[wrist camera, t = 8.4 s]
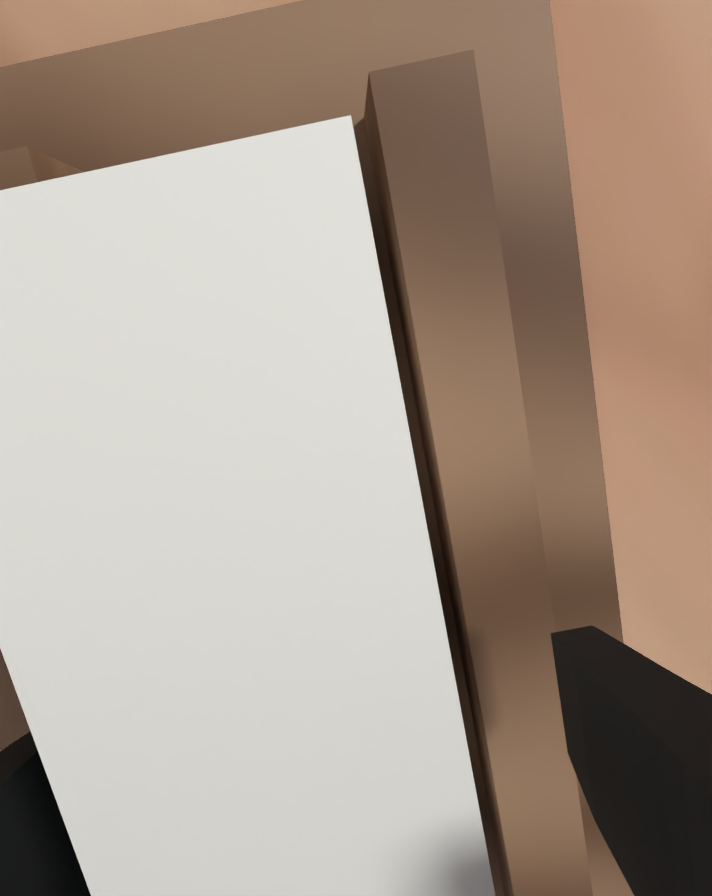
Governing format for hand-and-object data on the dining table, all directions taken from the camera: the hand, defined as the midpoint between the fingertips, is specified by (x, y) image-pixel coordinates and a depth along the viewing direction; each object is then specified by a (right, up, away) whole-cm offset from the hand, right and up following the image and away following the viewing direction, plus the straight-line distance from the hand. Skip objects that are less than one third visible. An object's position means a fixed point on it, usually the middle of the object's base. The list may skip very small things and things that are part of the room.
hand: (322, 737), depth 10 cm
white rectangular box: (0, +1, +4) cm, 4 cm away
